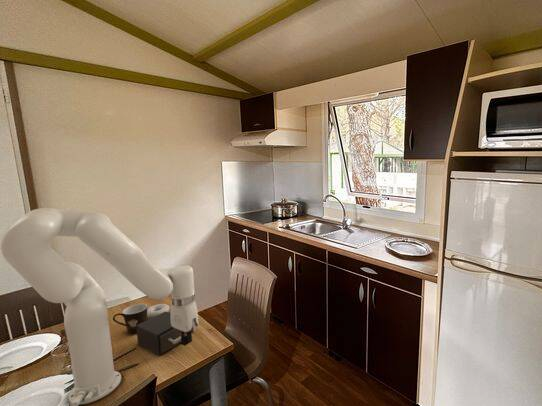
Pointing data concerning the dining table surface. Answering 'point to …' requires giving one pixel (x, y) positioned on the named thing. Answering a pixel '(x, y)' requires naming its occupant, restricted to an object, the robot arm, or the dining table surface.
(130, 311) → the coffee mug
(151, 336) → the gray drawer box
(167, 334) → the drawer
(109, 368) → the robot arm
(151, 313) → the donut
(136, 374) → the dining table surface
